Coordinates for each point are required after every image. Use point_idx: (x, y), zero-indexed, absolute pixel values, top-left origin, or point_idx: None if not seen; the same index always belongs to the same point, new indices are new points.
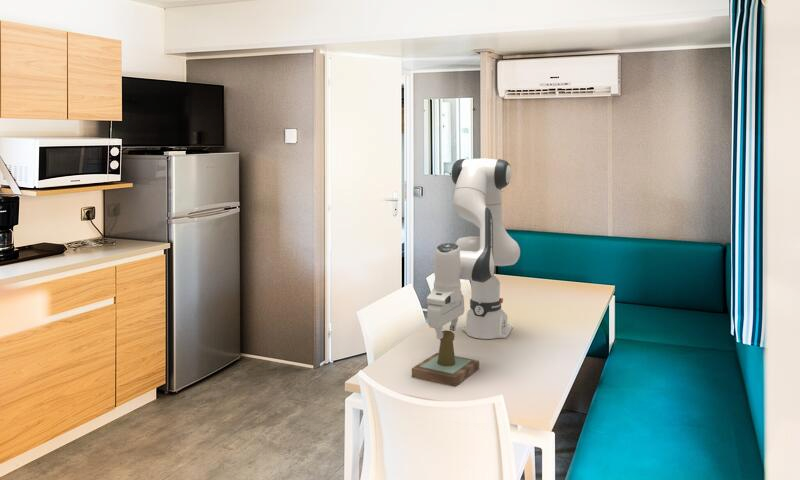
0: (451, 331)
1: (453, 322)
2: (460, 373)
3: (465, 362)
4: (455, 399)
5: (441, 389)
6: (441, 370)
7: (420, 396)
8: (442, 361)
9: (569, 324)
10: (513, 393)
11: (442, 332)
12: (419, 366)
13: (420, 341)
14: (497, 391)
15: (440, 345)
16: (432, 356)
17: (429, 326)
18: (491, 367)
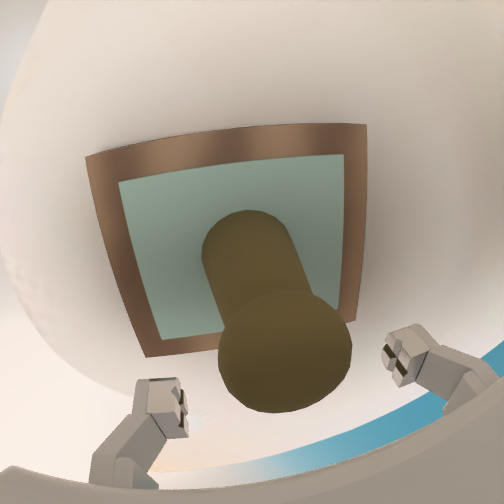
0: (327, 393)
1: (441, 375)
2: (190, 349)
3: None
4: (84, 370)
5: (96, 314)
6: (151, 291)
7: (18, 294)
8: (205, 271)
9: None
10: (224, 427)
11: (258, 377)
12: (128, 169)
13: (455, 4)
14: (209, 409)
15: (230, 293)
16: (304, 132)
17: (6, 473)
18: (370, 316)
